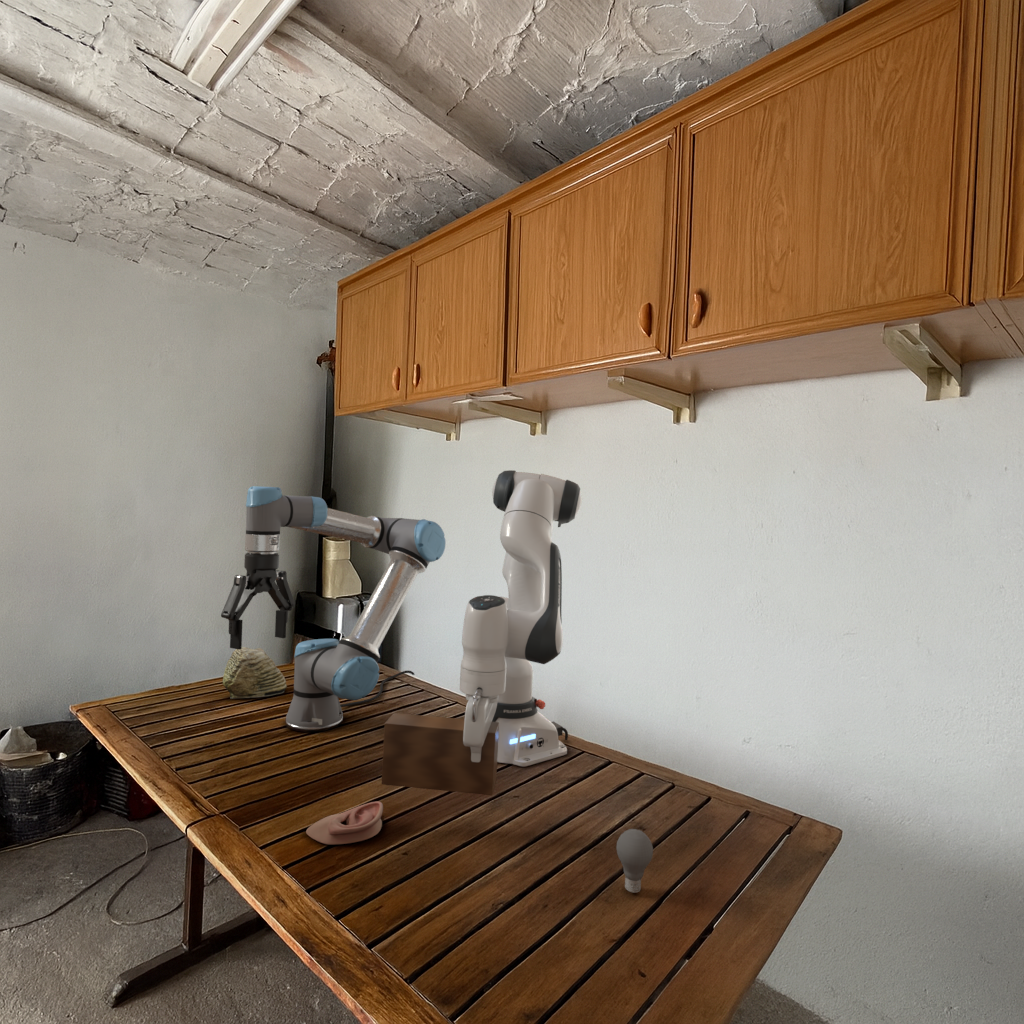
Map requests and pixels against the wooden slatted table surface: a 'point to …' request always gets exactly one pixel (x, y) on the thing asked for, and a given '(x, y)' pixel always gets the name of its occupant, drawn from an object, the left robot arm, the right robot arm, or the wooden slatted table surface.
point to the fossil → (252, 674)
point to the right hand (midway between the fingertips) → (479, 752)
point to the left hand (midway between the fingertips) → (258, 642)
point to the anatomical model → (348, 825)
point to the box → (437, 755)
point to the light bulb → (634, 857)
